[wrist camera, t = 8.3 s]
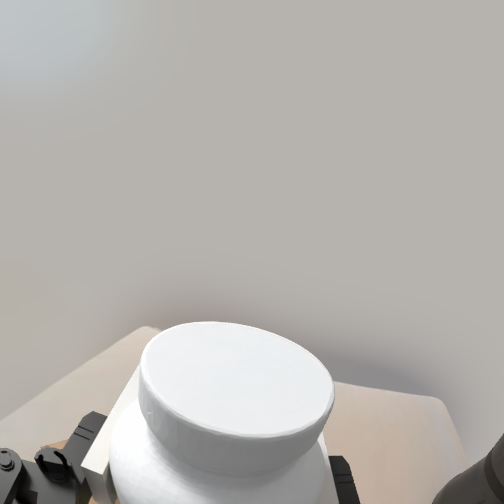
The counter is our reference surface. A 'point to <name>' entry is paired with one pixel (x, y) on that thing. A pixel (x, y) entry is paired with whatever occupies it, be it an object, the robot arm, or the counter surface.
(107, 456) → the robot arm
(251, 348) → the supplement bottle
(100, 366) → the counter surface
